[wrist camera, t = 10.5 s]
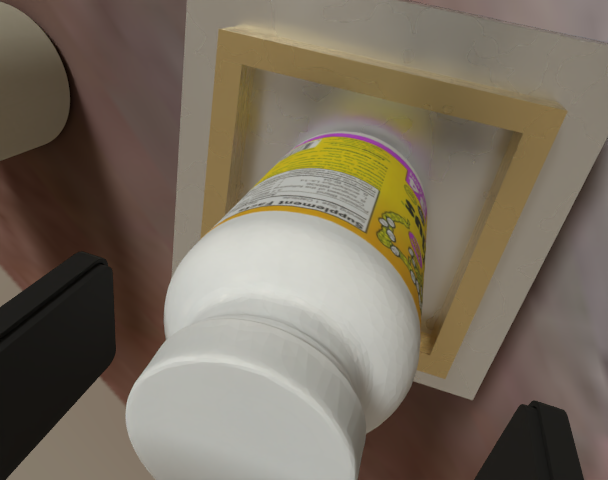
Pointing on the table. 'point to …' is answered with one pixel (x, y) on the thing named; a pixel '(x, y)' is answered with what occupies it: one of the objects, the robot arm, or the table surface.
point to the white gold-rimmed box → (403, 138)
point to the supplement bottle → (290, 322)
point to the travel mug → (29, 85)
